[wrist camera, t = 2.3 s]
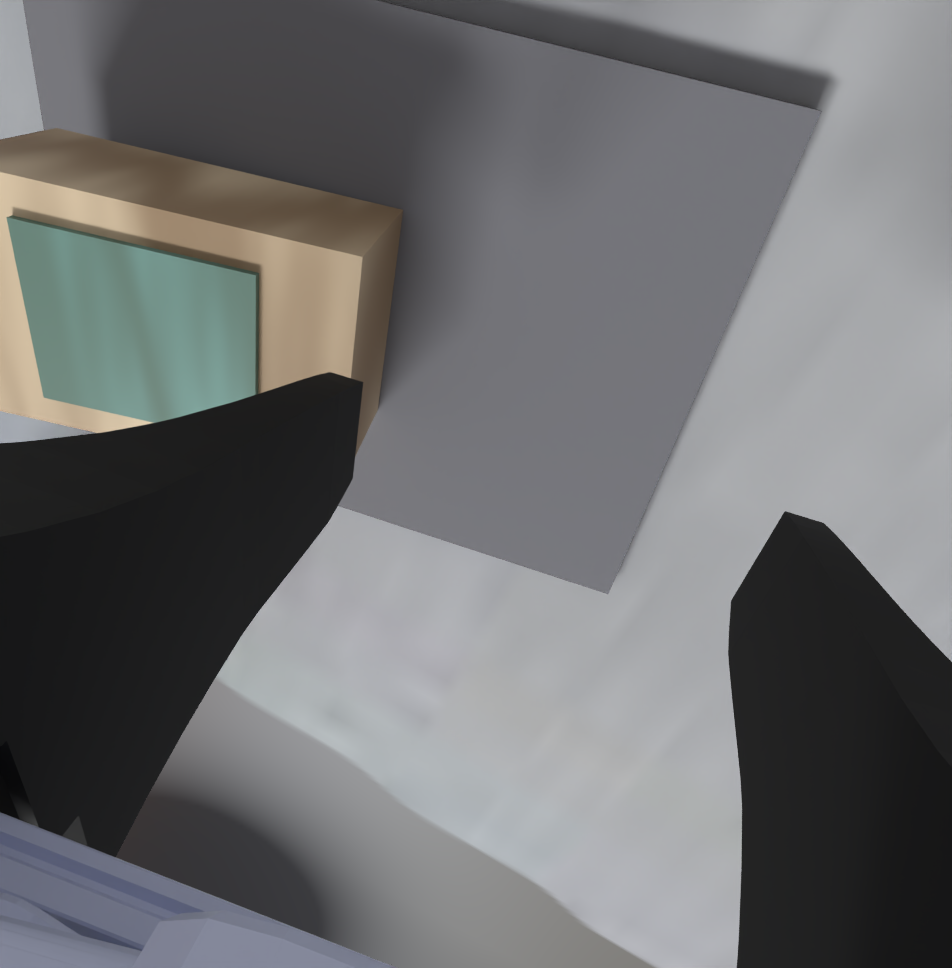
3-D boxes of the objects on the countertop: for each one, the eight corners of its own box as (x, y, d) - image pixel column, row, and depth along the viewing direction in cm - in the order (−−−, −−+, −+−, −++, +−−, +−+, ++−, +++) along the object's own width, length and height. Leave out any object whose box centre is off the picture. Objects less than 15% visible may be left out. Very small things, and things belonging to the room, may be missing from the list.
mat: (817, 109, 12) (821, 111, 12) (609, 582, 19) (607, 594, 18) (28, -87, 13) (8, -91, 13) (103, 418, 20) (91, 425, 20)
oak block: (360, 259, 11) (-80, 156, 11) (338, 491, 14) (-12, 413, 14) (403, 209, 14) (56, 128, 14) (377, 410, 17) (89, 344, 17)
